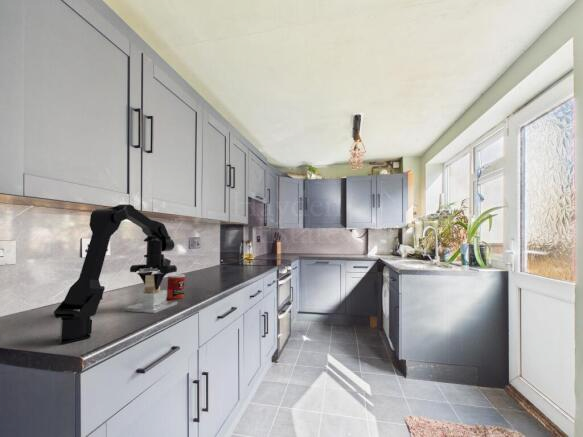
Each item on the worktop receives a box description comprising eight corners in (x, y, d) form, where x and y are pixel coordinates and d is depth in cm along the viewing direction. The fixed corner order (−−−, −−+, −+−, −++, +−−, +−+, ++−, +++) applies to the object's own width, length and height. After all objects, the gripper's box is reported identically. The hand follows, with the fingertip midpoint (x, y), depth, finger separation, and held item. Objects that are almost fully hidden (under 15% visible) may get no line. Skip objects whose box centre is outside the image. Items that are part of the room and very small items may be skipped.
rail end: (152, 297, 106) (153, 275, 107) (144, 297, 107) (145, 275, 108) (159, 295, 110) (160, 274, 111) (151, 295, 111) (152, 274, 112)
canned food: (173, 300, 120) (174, 276, 120) (163, 298, 124) (164, 275, 125) (187, 297, 126) (188, 274, 127) (177, 295, 130) (178, 273, 131)
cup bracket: (154, 313, 100) (155, 296, 101) (124, 310, 103) (124, 294, 104) (177, 303, 114) (177, 289, 114) (150, 302, 117) (150, 287, 117)
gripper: (185, 251, 116) (184, 286, 115) (149, 251, 120) (147, 285, 119) (168, 252, 105) (167, 291, 104) (129, 252, 109) (128, 289, 108)
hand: (152, 289), depth 109 cm, fingers closed on rail end, 4 cm apart
